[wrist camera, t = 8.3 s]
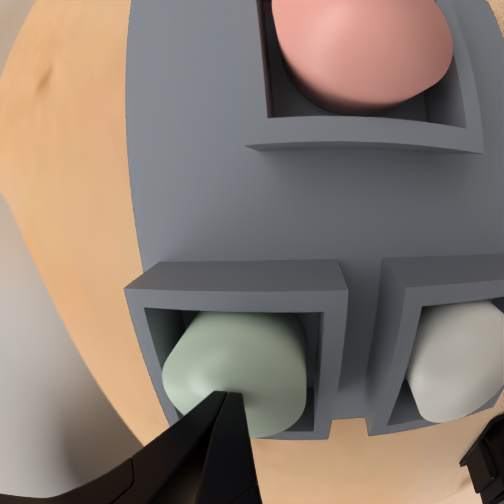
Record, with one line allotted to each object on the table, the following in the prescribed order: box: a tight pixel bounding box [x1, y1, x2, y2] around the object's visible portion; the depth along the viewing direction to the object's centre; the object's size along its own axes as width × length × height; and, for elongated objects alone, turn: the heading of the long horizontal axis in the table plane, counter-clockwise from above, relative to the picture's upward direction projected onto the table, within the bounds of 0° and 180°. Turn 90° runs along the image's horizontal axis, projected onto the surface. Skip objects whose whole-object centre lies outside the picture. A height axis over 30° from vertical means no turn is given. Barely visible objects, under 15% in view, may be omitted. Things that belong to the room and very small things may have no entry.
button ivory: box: [405, 299, 504, 423], centre depth 8 cm, size 4×4×3 cm
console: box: [124, 0, 504, 440], centre depth 8 cm, size 16×20×4 cm
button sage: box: [162, 311, 307, 438], centre depth 9 cm, size 4×4×3 cm
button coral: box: [272, 0, 453, 117], centre depth 5 cm, size 4×4×3 cm
